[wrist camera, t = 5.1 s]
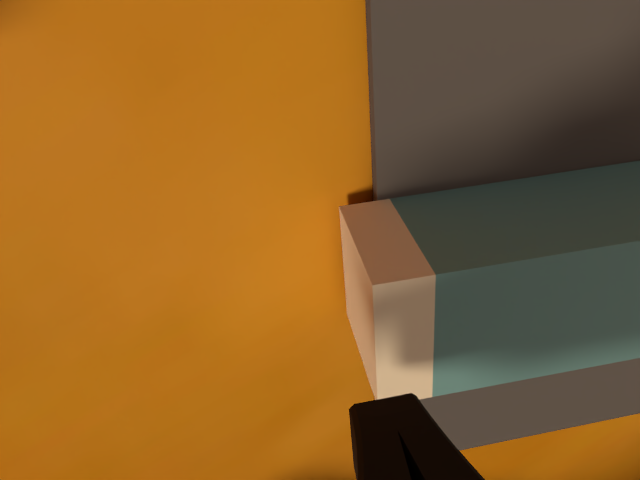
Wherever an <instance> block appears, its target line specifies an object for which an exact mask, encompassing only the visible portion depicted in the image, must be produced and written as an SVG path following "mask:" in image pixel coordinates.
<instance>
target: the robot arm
mask: <svg viewBox="0 0 640 480" xmlns="http://www.w3.org/2000/svg"><path fill="white" fill-rule="evenodd" d="M349 415H350V426H351V438H352V449H353V461H354V469H355V473H356V478H357V480H485V479H484V478H483V477H482V476H481V475H480V474H479V473H478V472H477V470H476V469H475V468H474V467H473V466H472V465H471V464H470V463H469V462H468V460H467V459H466V458H465V457H464V456H463V455H462V454H461V452H460V451H459V450H458V449H457V448H456V447H455V445H454V444H453V443H452V442H451V440H450V439H449V438H448V437H447V436H446V434H445V433H444V432H443V431H442V429H441V428H440V427H439V426H438V424H437V423H436V422H435V421H434V419H433V418H432V417H431V415H430V414H429V413H428V411H427V410H426V409H425V407H424V406H423V404H422V403H421V402H420V400H419V399H418V397H417V396H416V395H414V394H413V393H409V394H403V395H398V396H393V397H388V398H383V399H378V400H373V401H368V402H363V403H358V404H354V405H353V406H352V407H351V408H350V409H349Z"/></svg>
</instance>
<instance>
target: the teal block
mask: <svg viewBox="0 0 640 480" xmlns="http://www.w3.org/2000/svg"><path fill="white" fill-rule="evenodd" d="M339 213H340V226H341V239H342V252H343V266H344V279H345V292H346V305H347V316H348V319H349V322H350V325H351V328H352V331H353V334H354V337H355V340H356V343H357V346H358V349H359V352H360V355H361V358H362V361H363V364H364V367H365V370H366V373H367V376H368V379H369V382H370V385H371V388H372V391H373V394H374V397H375V400H378V399H383V398H388V397H393V396H398V395H403V394H409V393H413V394H414V395H416V396H417V397H418V399H425V398H430V397H435V396H440V395H446V394H451V393H456V392H462V391H467V390H472V389H478V388H483V387H488V386H493V385H499V384H504V383H509V382H515V381H520V380H525V379H530V378H536V377H541V376H546V375H552V374H557V373H562V372H568V371H573V370H578V369H583V368H589V367H594V366H599V365H605V364H610V363H615V362H621V361H626V360H631V359H636V358H640V161H633V162H626V163H620V164H613V165H607V166H600V167H594V168H587V169H581V170H574V171H568V172H561V173H554V174H548V175H541V176H535V177H528V178H522V179H515V180H509V181H502V182H496V183H489V184H482V185H476V186H469V187H463V188H456V189H450V190H443V191H437V192H430V193H423V194H417V195H410V196H404V197H397V198H391V199H384V200H378V201H371V202H365V203H358V204H351V205H345V206H339Z"/></svg>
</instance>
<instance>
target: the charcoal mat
mask: <svg viewBox="0 0 640 480" xmlns="http://www.w3.org/2000/svg"><path fill="white" fill-rule="evenodd" d="M366 25H367V51H368V76H369V102H370V127H371V153H372V178H373V201H378V200H384V199H391V198H397V197H404V196H410V195H417V194H423V193H430V192H437V191H443V190H450V189H456V188H463V187H469V186H476V185H482V184H489V183H496V182H502V181H509V180H515V179H522V178H528V177H535V176H541V175H548V174H554V173H561V172H568V171H574V170H581V169H587V168H594V167H600V166H607V165H613V164H620V163H626V162H633V161H640V0H366ZM419 400H420V402H421V403H422V404H423V406H424V407H425V409H426V410H427V411H428V413H429V414H430V415H431V417H432V418H433V419H434V421H435V422H436V423H437V424H438V426H439V427H440V428H441V429H442V431H443V432H444V433H445V434H446V436H447V437H448V438H449V439H450V440H451V442H452V443H453V444H454V445H455V447H456V448H457V449H458V450H464V449H469V448H474V447H478V446H483V445H488V444H493V443H498V442H503V441H507V440H512V439H517V438H522V437H527V436H532V435H536V434H541V433H546V432H551V431H556V430H561V429H566V428H570V427H575V426H580V425H585V424H590V423H595V422H599V421H604V420H609V419H614V418H619V417H624V416H628V415H633V414H638V413H640V358H636V359H631V360H626V361H621V362H615V363H610V364H605V365H599V366H594V367H589V368H583V369H578V370H573V371H568V372H562V373H557V374H552V375H546V376H541V377H536V378H530V379H525V380H520V381H515V382H509V383H504V384H499V385H493V386H488V387H483V388H478V389H472V390H467V391H462V392H456V393H451V394H446V395H440V396H435V397H430V398H425V399H419Z"/></svg>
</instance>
